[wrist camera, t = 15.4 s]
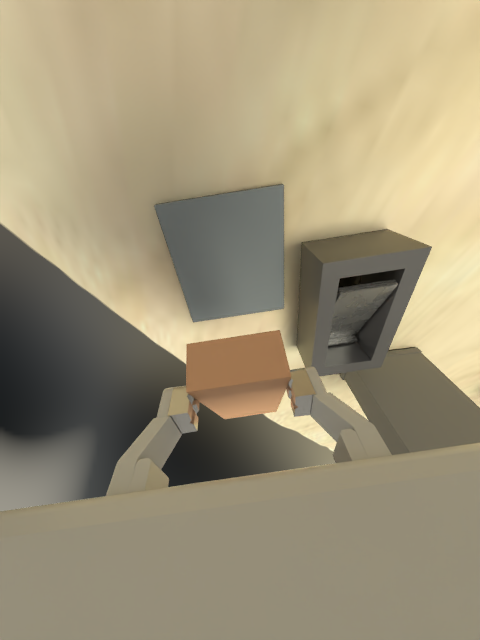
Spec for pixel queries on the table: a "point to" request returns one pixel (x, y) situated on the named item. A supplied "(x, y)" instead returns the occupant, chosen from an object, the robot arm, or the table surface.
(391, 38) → the table surface
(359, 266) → the pocket block
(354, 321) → the plate
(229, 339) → the tile
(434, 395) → the grey flat-topped box
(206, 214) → the mat
